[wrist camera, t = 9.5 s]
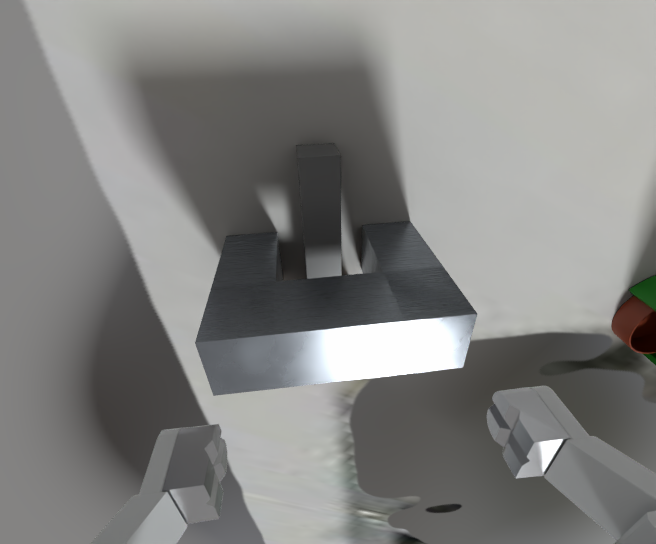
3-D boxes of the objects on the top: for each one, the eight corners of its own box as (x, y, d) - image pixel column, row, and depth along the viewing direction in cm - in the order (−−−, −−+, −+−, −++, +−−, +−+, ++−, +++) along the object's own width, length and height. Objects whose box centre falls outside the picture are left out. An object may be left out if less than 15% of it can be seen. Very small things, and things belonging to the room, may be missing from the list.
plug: (277, 146, 22) (275, 169, 18) (352, 142, 23) (368, 163, 19) (297, 331, 32) (299, 374, 27) (350, 326, 32) (361, 368, 28)
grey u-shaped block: (226, 236, 25) (195, 342, 16) (410, 221, 26) (477, 314, 17) (236, 280, 28) (213, 395, 19) (405, 264, 29) (462, 367, 20)
